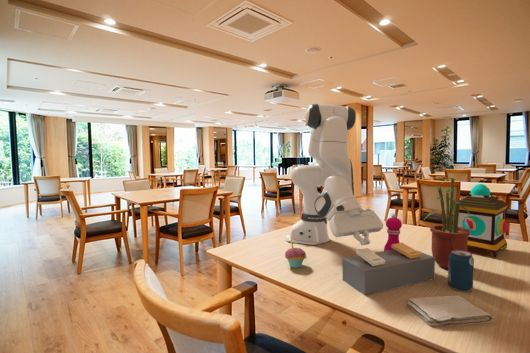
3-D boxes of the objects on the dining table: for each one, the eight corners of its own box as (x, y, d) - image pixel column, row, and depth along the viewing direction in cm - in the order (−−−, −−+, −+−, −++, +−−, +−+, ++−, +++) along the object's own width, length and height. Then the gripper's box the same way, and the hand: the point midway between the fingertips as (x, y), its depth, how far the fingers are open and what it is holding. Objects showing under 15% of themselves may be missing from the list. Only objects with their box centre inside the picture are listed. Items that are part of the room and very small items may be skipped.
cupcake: (292, 271, 113) (291, 241, 112) (281, 264, 120) (280, 235, 119) (310, 267, 117) (310, 237, 116) (298, 260, 124) (298, 232, 123)
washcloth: (404, 306, 87) (404, 296, 87) (459, 301, 89) (459, 291, 89) (431, 330, 76) (431, 319, 75) (493, 324, 78) (494, 312, 77)
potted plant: (473, 275, 106) (477, 179, 103) (425, 269, 112) (427, 178, 108) (460, 258, 123) (463, 175, 119) (418, 254, 128) (420, 174, 125)
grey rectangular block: (342, 279, 105) (342, 256, 104) (407, 266, 115) (407, 245, 114) (364, 295, 93) (364, 269, 93) (434, 279, 104) (435, 255, 103)
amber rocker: (391, 247, 109) (391, 244, 109) (401, 245, 111) (402, 242, 111) (410, 258, 101) (410, 255, 101) (421, 256, 103) (421, 253, 102)
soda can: (478, 290, 95) (479, 254, 94) (461, 293, 93) (463, 257, 92) (458, 281, 101) (459, 247, 100) (442, 284, 99) (443, 250, 98)
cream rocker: (355, 253, 104) (356, 249, 104) (367, 251, 106) (367, 247, 105) (372, 266, 96) (373, 262, 95) (385, 263, 97) (385, 260, 97)
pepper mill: (401, 259, 123) (402, 212, 121) (403, 265, 116) (404, 216, 114) (383, 257, 125) (383, 211, 123) (384, 263, 118) (384, 215, 116)
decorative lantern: (511, 249, 131) (515, 183, 128) (499, 260, 119) (502, 187, 116) (460, 239, 147) (462, 180, 144) (444, 248, 134) (446, 183, 132)
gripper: (368, 212, 116) (385, 244, 107) (322, 217, 109) (337, 252, 101) (376, 203, 111) (394, 236, 103) (329, 208, 104) (345, 243, 96)
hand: (365, 244), depth 102 cm, fingers closed
